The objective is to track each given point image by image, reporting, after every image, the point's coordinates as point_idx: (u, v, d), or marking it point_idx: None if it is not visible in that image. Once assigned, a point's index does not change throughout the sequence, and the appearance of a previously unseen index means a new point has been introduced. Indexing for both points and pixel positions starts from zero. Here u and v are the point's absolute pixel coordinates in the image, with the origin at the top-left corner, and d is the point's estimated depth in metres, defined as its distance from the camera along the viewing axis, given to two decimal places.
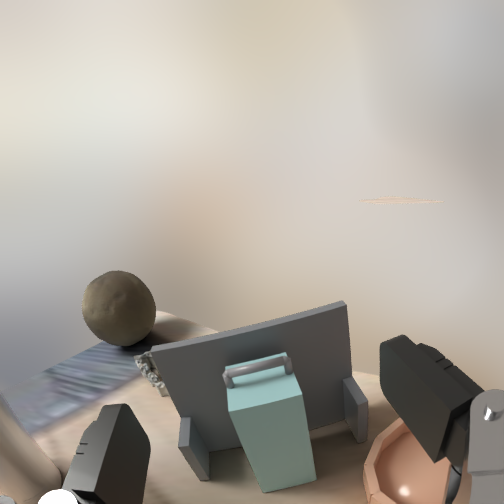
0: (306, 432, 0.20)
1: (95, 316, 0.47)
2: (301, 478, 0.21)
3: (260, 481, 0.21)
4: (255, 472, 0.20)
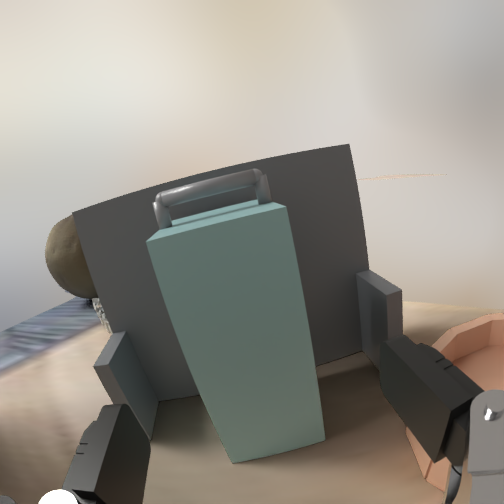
0: (302, 315, 0.12)
1: (55, 255, 0.38)
2: (298, 435, 0.13)
3: (224, 437, 0.13)
4: (211, 414, 0.12)
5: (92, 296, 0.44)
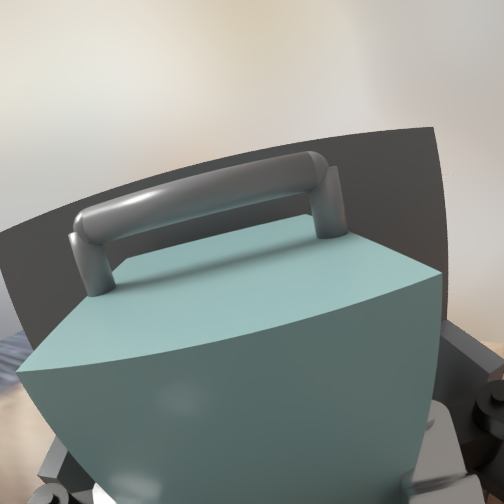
0: None
1: None
2: None
3: None
4: None
5: None
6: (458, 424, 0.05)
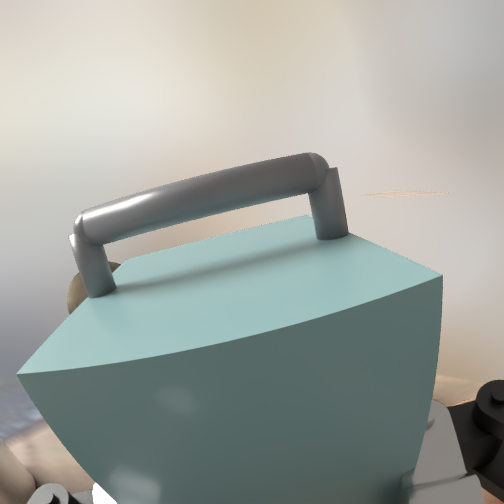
0: None
1: None
2: None
3: None
4: None
5: None
6: (458, 424, 0.05)
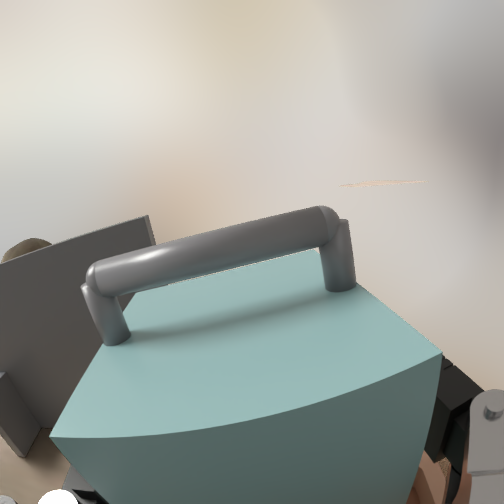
0: None
1: None
2: None
3: None
4: None
5: None
6: None
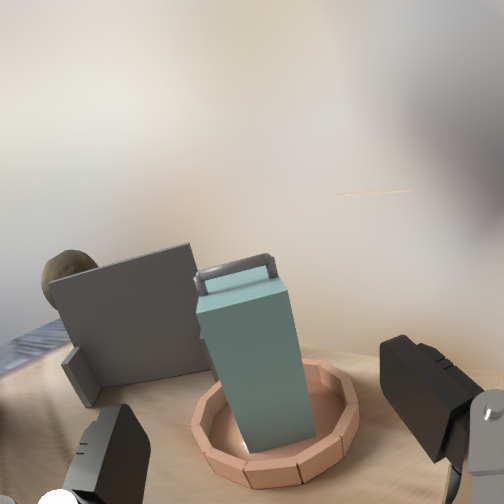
0: (297, 355, 0.17)
1: (48, 286, 0.51)
2: (297, 432, 0.19)
3: (244, 434, 0.18)
4: (237, 419, 0.18)
5: None
6: None
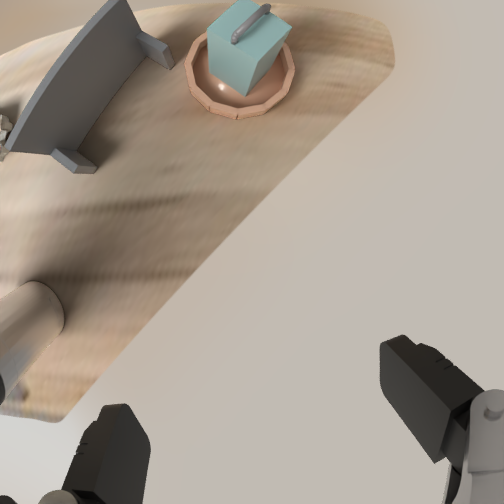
0: (281, 45, 0.25)
1: None
2: (264, 73, 0.32)
3: (248, 90, 0.31)
4: (249, 86, 0.30)
5: None
6: None
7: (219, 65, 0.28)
